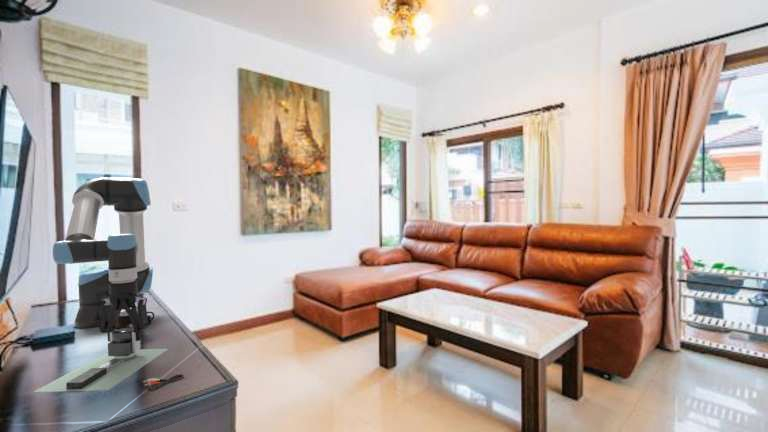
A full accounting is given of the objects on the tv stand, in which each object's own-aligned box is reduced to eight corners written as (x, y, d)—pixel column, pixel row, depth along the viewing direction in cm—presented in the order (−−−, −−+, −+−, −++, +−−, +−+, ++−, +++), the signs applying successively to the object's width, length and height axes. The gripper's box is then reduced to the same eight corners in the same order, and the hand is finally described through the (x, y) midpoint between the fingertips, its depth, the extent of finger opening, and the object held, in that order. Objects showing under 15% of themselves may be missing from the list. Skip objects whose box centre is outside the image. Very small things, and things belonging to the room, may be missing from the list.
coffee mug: (114, 344, 129) (114, 317, 129) (119, 336, 137) (118, 311, 137) (152, 338, 135) (151, 312, 134) (155, 331, 142) (154, 307, 142)
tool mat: (110, 351, 123) (110, 350, 123) (168, 349, 123) (168, 348, 123) (33, 393, 95) (32, 392, 95) (108, 391, 95) (108, 390, 95)
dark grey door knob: (122, 348, 119) (121, 327, 119) (141, 347, 119) (141, 327, 119) (108, 356, 113) (107, 334, 113) (128, 355, 113) (127, 334, 113)
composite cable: (182, 376, 104) (182, 368, 104) (185, 382, 100) (185, 373, 100) (142, 387, 98) (142, 378, 98) (144, 394, 94) (143, 384, 94)
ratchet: (122, 354, 119) (122, 339, 119) (141, 353, 119) (140, 339, 119) (62, 389, 96) (62, 371, 96) (85, 388, 96) (84, 370, 96)
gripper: (83, 284, 111) (86, 356, 112) (145, 282, 112) (148, 354, 113) (102, 279, 119) (104, 346, 120) (160, 278, 119) (162, 345, 120)
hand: (125, 350), depth 116 cm, fingers closed on dark grey door knob, 6 cm apart
